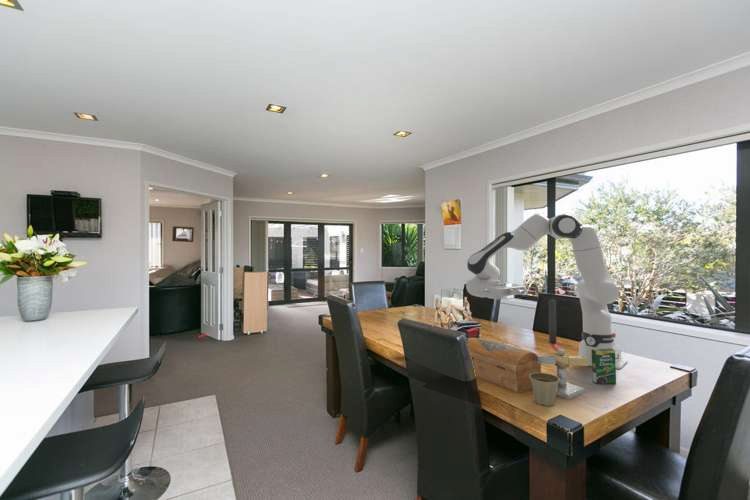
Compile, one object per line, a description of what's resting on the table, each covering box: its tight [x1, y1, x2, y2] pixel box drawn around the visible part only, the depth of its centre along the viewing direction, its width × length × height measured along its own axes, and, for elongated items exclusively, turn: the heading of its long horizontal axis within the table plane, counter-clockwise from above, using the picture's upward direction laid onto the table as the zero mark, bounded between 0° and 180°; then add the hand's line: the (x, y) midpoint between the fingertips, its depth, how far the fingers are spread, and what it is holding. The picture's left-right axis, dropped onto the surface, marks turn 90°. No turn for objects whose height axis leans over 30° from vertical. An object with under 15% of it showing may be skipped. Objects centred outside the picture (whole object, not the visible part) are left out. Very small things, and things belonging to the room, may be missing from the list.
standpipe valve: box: [535, 352, 589, 400], centre depth 130 cm, size 14×14×13 cm
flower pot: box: [529, 372, 560, 407], centre depth 120 cm, size 9×9×9 cm
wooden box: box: [467, 337, 542, 394], centre depth 145 cm, size 30×16×14 cm, turn 32°
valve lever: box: [548, 299, 566, 355], centre depth 136 cm, size 14×3×18 cm, turn 168°
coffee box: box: [591, 348, 617, 385], centre depth 137 cm, size 8×3×13 cm, turn 91°
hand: (522, 292), depth 152 cm, fingers closed
